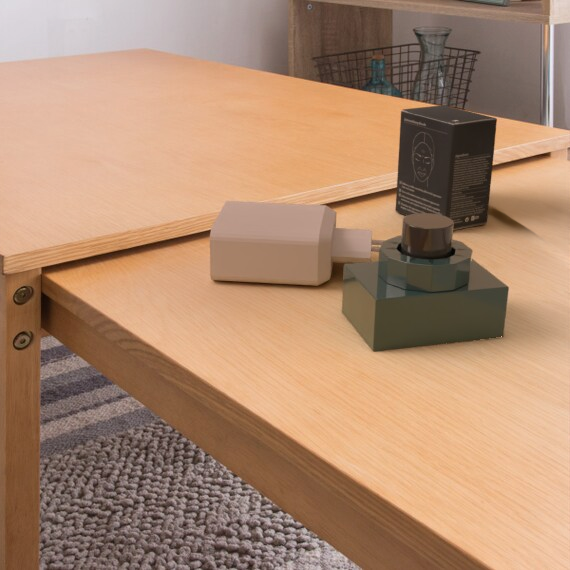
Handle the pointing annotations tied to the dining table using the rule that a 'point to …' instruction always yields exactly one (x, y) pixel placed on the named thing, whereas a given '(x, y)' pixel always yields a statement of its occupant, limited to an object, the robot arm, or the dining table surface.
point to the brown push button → (427, 236)
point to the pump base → (422, 299)
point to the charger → (283, 243)
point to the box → (445, 164)
